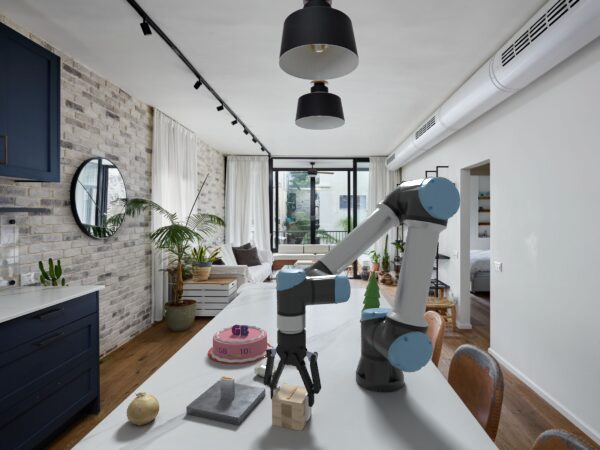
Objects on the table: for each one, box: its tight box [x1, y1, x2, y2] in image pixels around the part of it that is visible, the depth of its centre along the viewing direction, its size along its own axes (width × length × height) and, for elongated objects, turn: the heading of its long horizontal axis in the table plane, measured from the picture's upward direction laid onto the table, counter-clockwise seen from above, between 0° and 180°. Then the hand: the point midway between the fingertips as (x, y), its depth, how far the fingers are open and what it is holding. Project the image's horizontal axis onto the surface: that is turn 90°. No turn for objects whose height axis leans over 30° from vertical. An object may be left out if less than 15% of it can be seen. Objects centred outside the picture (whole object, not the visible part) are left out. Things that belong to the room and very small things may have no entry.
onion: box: [126, 391, 160, 427], centre depth 93 cm, size 8×8×7 cm
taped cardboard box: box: [271, 383, 308, 432], centre depth 93 cm, size 8×8×7 cm
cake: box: [207, 324, 272, 365], centre depth 140 cm, size 25×25×11 cm
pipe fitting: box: [253, 363, 277, 379], centre depth 118 cm, size 8×4×7 cm
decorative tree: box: [359, 269, 381, 324], centre depth 150 cm, size 10×9×30 cm
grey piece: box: [185, 375, 266, 426], centre depth 101 cm, size 16×16×8 cm
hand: (292, 414), depth 93 cm, fingers closed on taped cardboard box, 8 cm apart
